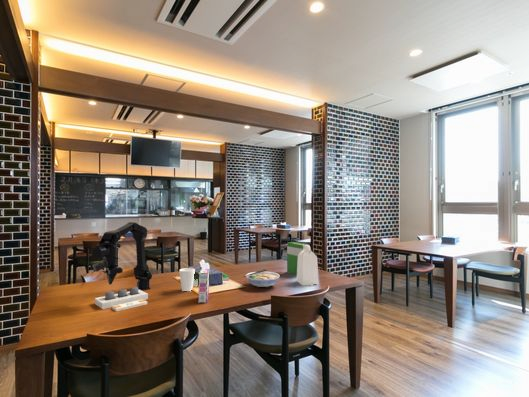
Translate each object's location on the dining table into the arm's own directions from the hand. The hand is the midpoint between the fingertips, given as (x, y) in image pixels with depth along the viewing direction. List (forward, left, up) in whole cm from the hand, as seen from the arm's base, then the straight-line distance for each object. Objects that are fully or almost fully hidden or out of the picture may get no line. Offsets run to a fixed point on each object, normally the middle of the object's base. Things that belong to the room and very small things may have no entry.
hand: (110, 284), depth 164 cm
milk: (-113, +47, -11) cm, 123 cm away
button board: (-6, 0, -11) cm, 12 cm away
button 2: (-13, 0, -8) cm, 15 cm away
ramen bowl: (-84, +32, -11) cm, 91 cm away
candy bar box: (-40, +29, -11) cm, 51 cm away
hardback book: (-129, +26, -11) cm, 132 cm away
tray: (-65, -6, -11) cm, 67 cm away
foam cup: (-43, +6, -11) cm, 45 cm away
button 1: (0, 0, -8) cm, 8 cm away
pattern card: (-6, +11, -11) cm, 17 cm away
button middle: (-6, 0, -8) cm, 10 cm away
